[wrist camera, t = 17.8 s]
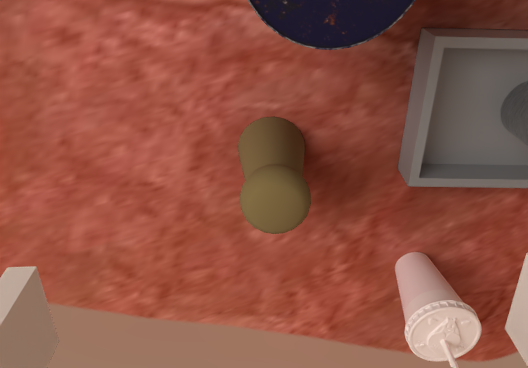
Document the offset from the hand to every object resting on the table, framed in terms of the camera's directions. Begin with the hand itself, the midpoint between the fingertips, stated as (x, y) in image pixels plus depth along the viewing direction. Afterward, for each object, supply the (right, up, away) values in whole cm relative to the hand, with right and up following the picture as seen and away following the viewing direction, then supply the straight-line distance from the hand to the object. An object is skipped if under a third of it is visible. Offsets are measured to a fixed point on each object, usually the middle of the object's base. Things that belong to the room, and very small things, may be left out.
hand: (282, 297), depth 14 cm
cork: (0, +6, +31) cm, 32 cm away
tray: (+22, +10, +29) cm, 38 cm away
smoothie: (+15, -5, +38) cm, 41 cm away
